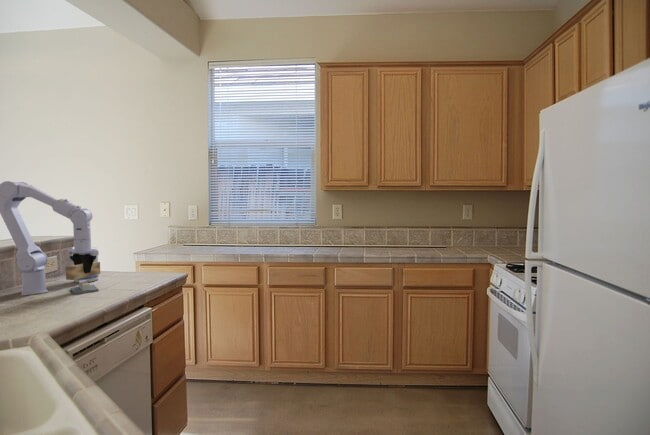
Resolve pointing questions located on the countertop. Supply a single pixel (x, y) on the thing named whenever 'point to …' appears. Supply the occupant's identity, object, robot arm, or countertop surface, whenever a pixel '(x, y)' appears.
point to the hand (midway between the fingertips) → (83, 272)
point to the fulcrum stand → (84, 288)
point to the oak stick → (81, 271)
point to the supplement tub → (90, 278)
